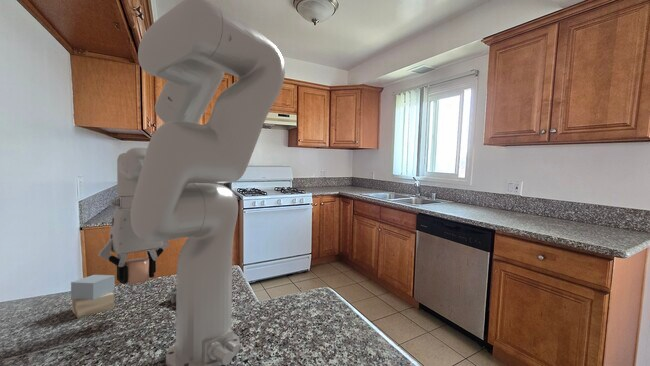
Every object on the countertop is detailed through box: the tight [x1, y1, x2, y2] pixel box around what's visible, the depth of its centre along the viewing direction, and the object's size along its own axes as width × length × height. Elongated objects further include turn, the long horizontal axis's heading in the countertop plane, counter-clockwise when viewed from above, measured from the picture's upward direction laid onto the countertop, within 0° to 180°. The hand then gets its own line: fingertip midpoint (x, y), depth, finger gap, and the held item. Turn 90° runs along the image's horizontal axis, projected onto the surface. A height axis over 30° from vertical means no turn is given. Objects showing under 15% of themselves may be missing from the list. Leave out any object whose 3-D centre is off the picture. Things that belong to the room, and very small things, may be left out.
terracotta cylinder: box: [125, 257, 150, 285], centre depth 67 cm, size 5×5×5 cm
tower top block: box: [70, 274, 116, 300], centre depth 70 cm, size 6×6×4 cm
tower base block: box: [71, 291, 115, 319], centre depth 70 cm, size 7×7×4 cm
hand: (137, 278), depth 67 cm, fingers closed on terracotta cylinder, 4 cm apart
